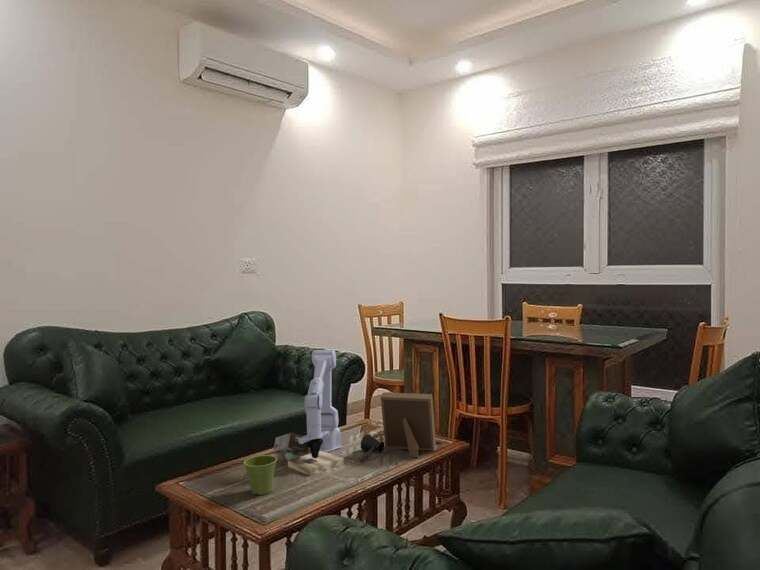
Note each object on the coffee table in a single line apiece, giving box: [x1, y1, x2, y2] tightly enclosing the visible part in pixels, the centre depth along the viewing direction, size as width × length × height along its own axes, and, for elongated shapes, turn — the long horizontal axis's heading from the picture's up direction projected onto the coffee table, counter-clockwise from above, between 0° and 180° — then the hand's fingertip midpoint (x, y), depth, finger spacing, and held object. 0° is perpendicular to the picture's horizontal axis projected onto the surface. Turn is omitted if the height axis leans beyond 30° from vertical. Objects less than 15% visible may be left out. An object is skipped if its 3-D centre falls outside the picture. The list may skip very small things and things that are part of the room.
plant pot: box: [243, 454, 278, 496], centre depth 200 cm, size 12×12×11 cm
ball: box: [307, 458, 315, 464], centre depth 224 cm, size 3×3×3 cm
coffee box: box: [272, 432, 310, 457], centre depth 230 cm, size 9×6×16 cm
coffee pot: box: [357, 433, 385, 463], centre depth 238 cm, size 8×18×8 cm
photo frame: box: [380, 391, 437, 458], centre depth 240 cm, size 15×22×25 cm
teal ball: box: [284, 451, 295, 461], centre depth 226 cm, size 3×3×3 cm
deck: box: [287, 450, 345, 477], centre depth 226 cm, size 17×15×2 cm
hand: (314, 457), depth 225 cm, fingers closed
